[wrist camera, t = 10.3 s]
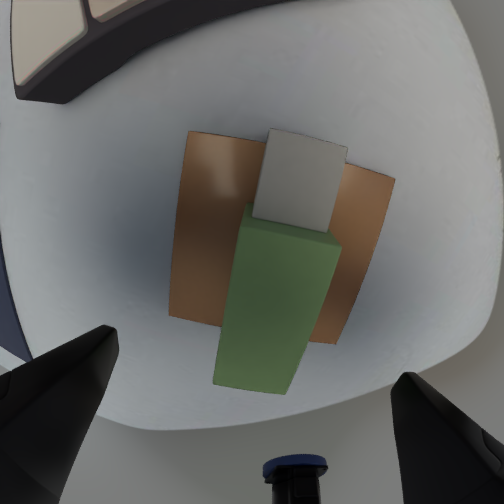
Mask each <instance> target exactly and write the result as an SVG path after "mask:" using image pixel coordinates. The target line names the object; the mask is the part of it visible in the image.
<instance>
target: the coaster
mask: <svg viewBox="0 0 504 504" xmlns="http://www.w3.org/2000/svg"><path fill="white" fill-rule="evenodd" d="M265 146H266V143H263V142H257V141H252V140H247V139H241V138H235V137H229V136H223V135H216V134H209V133H202V132H194V131H189V132H188V137H187V143H186V149H185V155H184V161H183V167H182V174H181V181H180V189H179V196H178V204H177V213H176V222H175V231H174V242H173V253H172V265H171V280H170V297H169V316H173V317H177V318H182V319H186V320H191V321H195V322H200V323H205V324H209V325H214V326H219V327H222V322H223V316H224V310H225V305H226V299H227V293H228V288H229V282H230V277H231V271H232V266H233V260H234V255H235V249H236V244H237V238H238V233H239V228H240V224H241V221H242V217H243V213H244V210H245V206H246V204H247V203H254V200H255V195H256V190H257V185H258V180H259V175H260V170H261V165H262V161H263V156H264V151H265ZM394 183H395V179H394V178H392V177H389V176H386V175H383V174H380V173H377V172H374V171H371V170H368V169H365V168H361V167H358V166H355V165H351V164H348V163H345V165H344V169H343V173H342V177H341V181H340V185H339V189H338V193H337V197H336V201H335V205H334V209H333V212H332V216H331V220H330V223H329V227H328V228H329V230H330V231H331V233H332V234H333V235H334V237H335V238H336V239H337V241H338V242H339V244H340V245H341V246H342V250H341V253H340V256H339V259H338V262H337V265H336V268H335V271H334V274H333V277H332V280H331V283H330V286H329V289H328V291H327V294H326V297H325V300H324V302H323V305H322V308H321V311H320V313H319V316H318V318H317V321H316V324H315V326H314V329H313V331H312V334H311V336H310V339H309V341H312V342H320V343H328V344H336V343H337V341H338V339H339V336H340V334H341V332H342V330H343V328H344V325H345V323H346V321H347V319H348V316H349V314H350V312H351V309H352V307H353V305H354V302H355V300H356V297H357V295H358V292H359V290H360V287H361V285H362V282H363V279H364V277H365V274H366V272H367V269H368V266H369V263H370V261H371V258H372V255H373V252H374V249H375V246H376V243H377V240H378V237H379V234H380V231H381V228H382V225H383V222H384V218H385V215H386V212H387V208H388V205H389V201H390V198H391V194H392V190H393V187H394Z"/></svg>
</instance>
